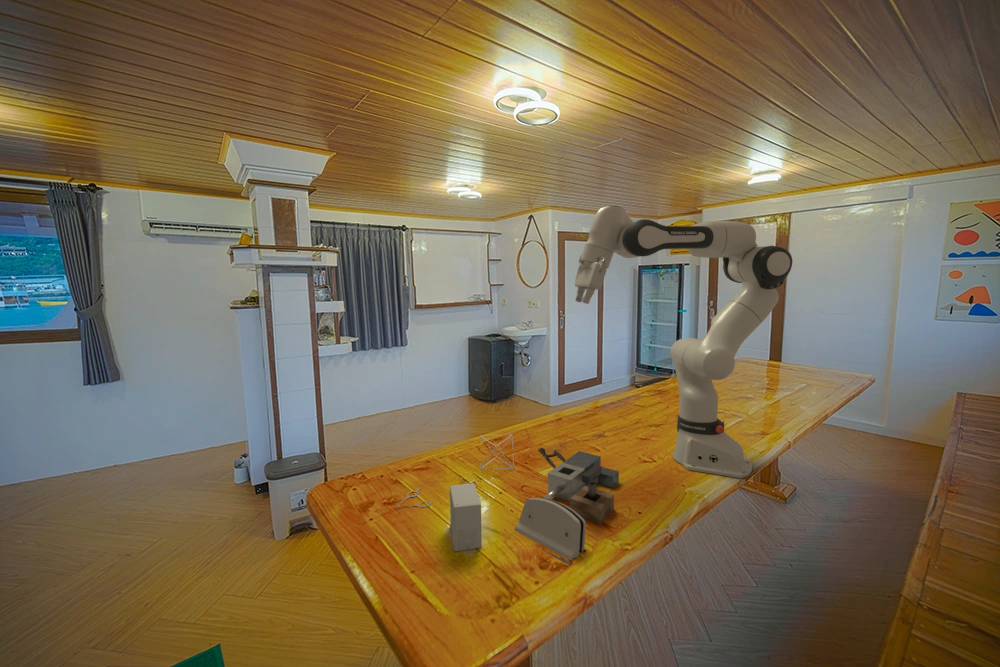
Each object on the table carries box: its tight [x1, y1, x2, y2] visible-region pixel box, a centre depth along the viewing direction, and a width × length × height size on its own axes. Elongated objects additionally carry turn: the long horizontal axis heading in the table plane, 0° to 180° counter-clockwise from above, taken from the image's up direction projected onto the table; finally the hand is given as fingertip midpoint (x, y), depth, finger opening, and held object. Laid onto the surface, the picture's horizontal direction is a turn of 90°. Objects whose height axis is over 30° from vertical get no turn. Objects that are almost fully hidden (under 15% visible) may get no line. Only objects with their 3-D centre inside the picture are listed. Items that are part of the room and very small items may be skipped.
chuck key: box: [582, 465, 603, 502], centre depth 103 cm, size 3×7×11 cm, turn 142°
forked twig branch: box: [538, 447, 567, 469], centre depth 134 cm, size 24×10×2 cm, turn 14°
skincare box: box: [449, 482, 483, 552], centre depth 96 cm, size 10×6×10 cm, turn 12°
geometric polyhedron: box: [479, 433, 515, 471], centre depth 133 cm, size 12×11×9 cm
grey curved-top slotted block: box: [514, 497, 587, 566], centre depth 93 cm, size 17×5×10 cm, turn 46°
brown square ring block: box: [569, 486, 615, 525], centre depth 103 cm, size 8×8×5 cm
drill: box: [542, 450, 620, 502], centre depth 112 cm, size 25×13×7 cm, turn 142°
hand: (581, 302), depth 126 cm, fingers open, 8 cm apart
